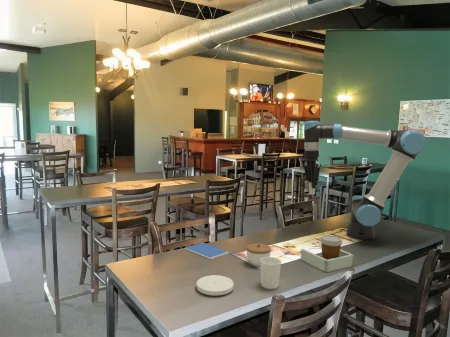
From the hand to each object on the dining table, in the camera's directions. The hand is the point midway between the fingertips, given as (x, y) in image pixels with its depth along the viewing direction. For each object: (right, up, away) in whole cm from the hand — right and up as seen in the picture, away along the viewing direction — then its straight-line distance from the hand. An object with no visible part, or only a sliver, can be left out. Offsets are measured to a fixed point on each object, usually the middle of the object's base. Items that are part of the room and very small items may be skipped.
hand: (312, 194), depth 192 cm
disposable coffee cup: (+1, -30, -31) cm, 43 cm away
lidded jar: (-32, -29, -32) cm, 54 cm away
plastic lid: (-51, -32, -57) cm, 83 cm away
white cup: (-29, -32, -53) cm, 69 cm away
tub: (0, -29, -29) cm, 41 cm away
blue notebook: (-56, -27, -17) cm, 65 cm away
